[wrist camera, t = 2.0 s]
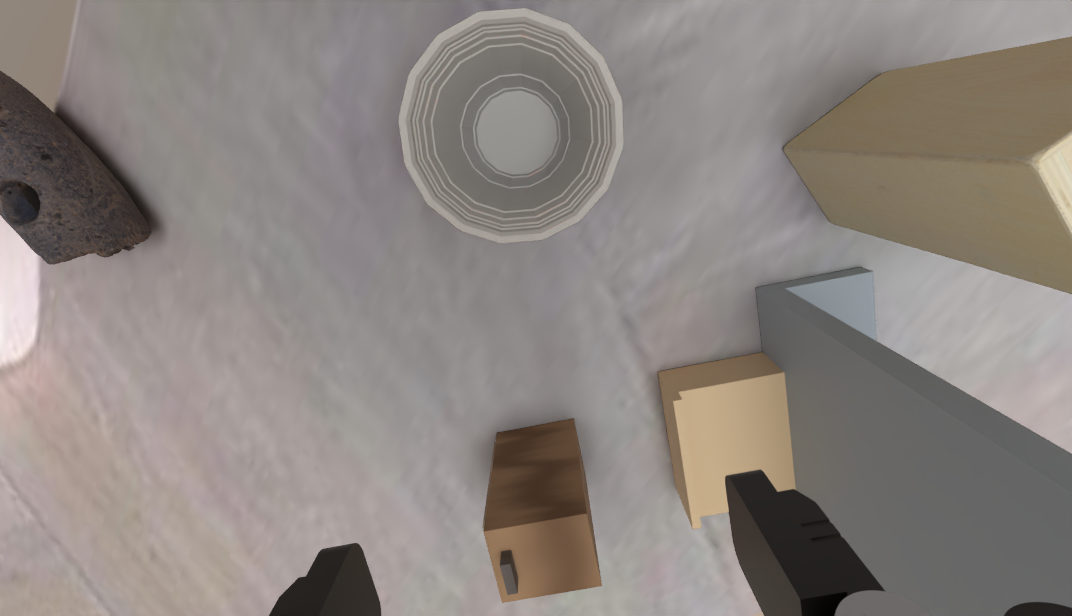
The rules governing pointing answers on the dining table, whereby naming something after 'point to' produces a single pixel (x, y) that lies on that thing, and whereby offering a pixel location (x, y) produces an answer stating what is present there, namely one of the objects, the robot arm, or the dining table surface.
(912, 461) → the wall board
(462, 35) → the plastic cup
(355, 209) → the dining table surface
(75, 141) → the perforated stone tool
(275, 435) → the dining table surface
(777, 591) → the robot arm
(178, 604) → the dining table surface
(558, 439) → the walnut cabinet
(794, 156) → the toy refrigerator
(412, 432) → the dining table surface
